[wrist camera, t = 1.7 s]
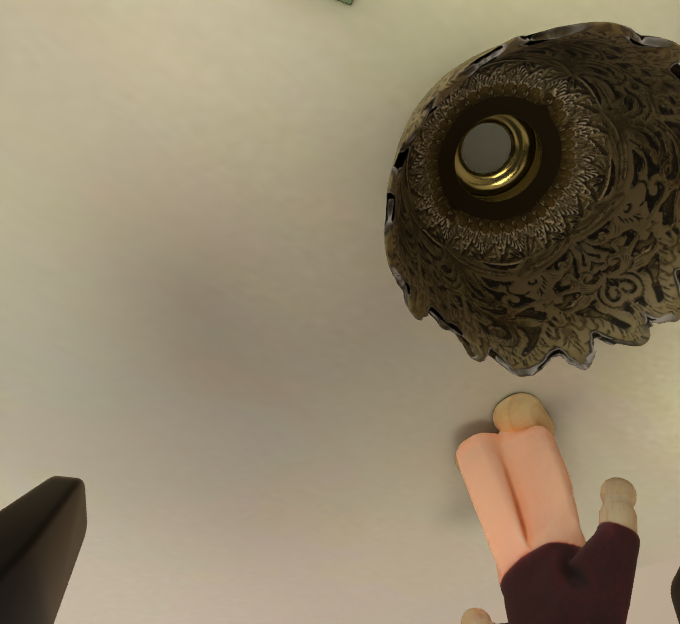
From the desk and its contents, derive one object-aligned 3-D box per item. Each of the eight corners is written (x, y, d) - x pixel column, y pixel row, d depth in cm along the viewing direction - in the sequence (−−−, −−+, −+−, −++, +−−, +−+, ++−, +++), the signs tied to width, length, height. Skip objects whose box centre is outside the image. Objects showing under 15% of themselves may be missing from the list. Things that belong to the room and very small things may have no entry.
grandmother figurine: (501, 357, 23) (650, 687, 12) (588, 391, 24) (810, 736, 12) (412, 501, 26) (463, 872, 15) (491, 527, 27) (598, 904, 16)
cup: (324, 154, 20) (311, 231, 13) (495, -38, 18) (598, -76, 10) (478, 296, 22) (542, 431, 15) (650, 142, 20) (824, 214, 13)
